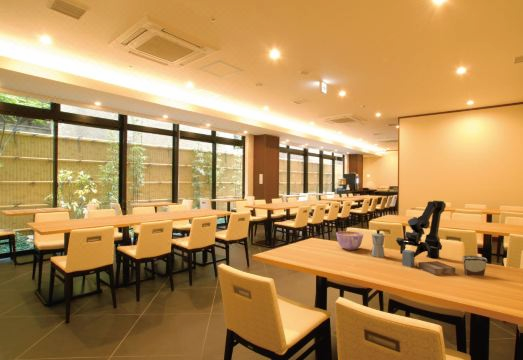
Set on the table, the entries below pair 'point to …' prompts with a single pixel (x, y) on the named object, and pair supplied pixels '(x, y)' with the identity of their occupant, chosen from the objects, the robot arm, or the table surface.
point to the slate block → (408, 258)
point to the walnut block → (436, 268)
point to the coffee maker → (378, 245)
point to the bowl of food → (349, 239)
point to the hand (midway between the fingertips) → (407, 255)
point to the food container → (474, 265)
